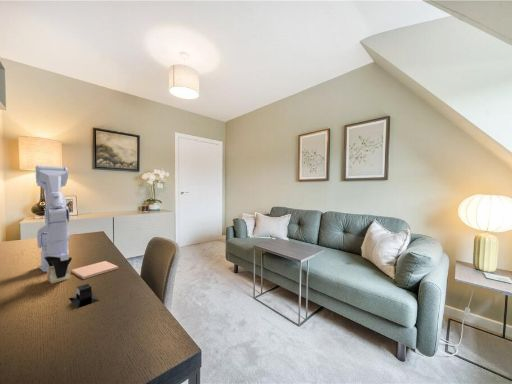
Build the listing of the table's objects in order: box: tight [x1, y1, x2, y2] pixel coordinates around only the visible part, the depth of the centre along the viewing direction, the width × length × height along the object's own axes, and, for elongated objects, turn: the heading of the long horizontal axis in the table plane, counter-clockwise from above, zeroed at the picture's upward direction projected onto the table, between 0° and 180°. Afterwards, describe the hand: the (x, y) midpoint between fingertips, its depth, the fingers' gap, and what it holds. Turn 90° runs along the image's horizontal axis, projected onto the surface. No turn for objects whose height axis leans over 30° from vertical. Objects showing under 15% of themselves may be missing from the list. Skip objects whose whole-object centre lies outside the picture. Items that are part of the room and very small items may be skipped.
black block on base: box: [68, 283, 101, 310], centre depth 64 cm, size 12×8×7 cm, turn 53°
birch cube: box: [46, 264, 71, 285], centre depth 78 cm, size 5×5×5 cm
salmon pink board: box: [71, 260, 119, 280], centre depth 86 cm, size 12×12×1 cm
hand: (58, 275), depth 78 cm, fingers closed on birch cube, 5 cm apart
